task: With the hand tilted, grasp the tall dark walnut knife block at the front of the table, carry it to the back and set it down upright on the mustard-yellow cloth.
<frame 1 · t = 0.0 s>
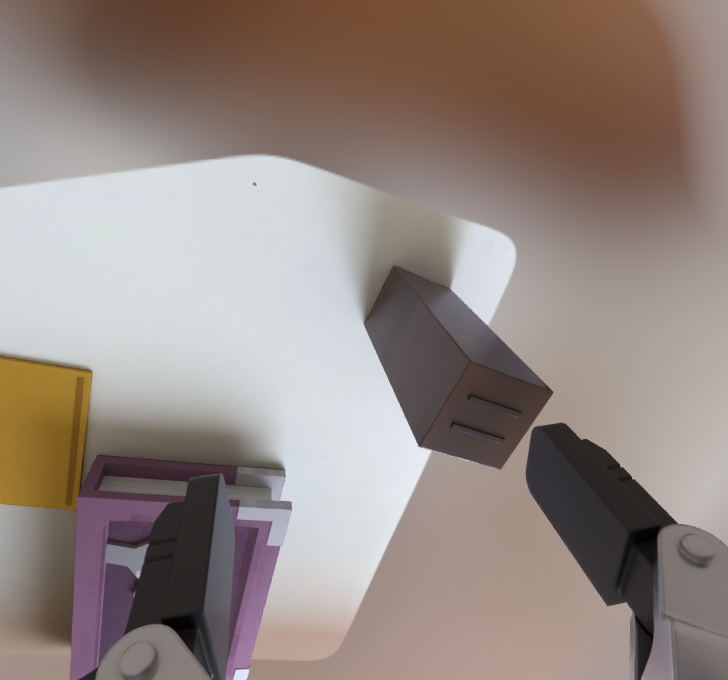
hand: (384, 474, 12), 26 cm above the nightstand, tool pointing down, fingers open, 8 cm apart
knife block: (407, 307, 40), on the nightstand
book: (182, 562, 48), on the nightstand
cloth: (0, 433, 38), on the nightstand
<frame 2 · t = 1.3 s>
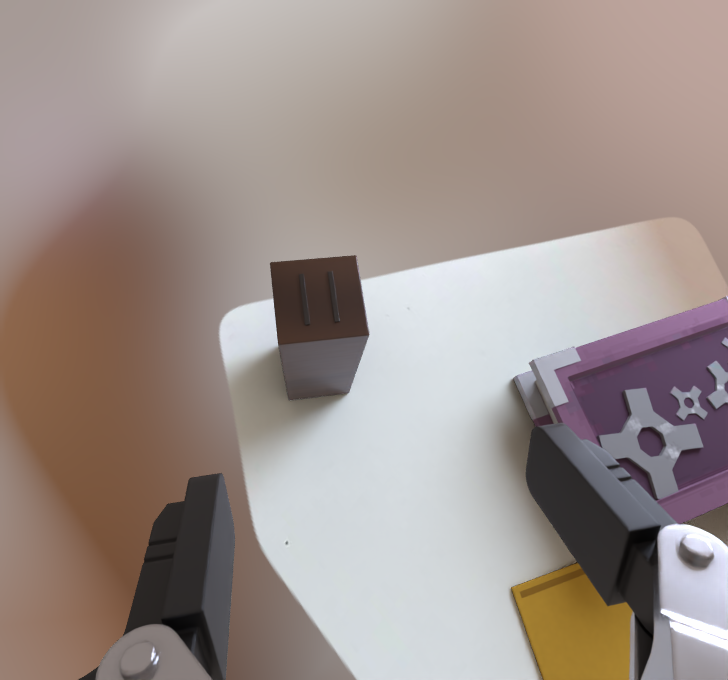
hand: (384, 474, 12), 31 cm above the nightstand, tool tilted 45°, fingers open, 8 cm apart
knife block: (315, 367, 45), on the nightstand
book: (657, 413, 47), on the nightstand
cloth: (613, 635, 40), on the nightstand
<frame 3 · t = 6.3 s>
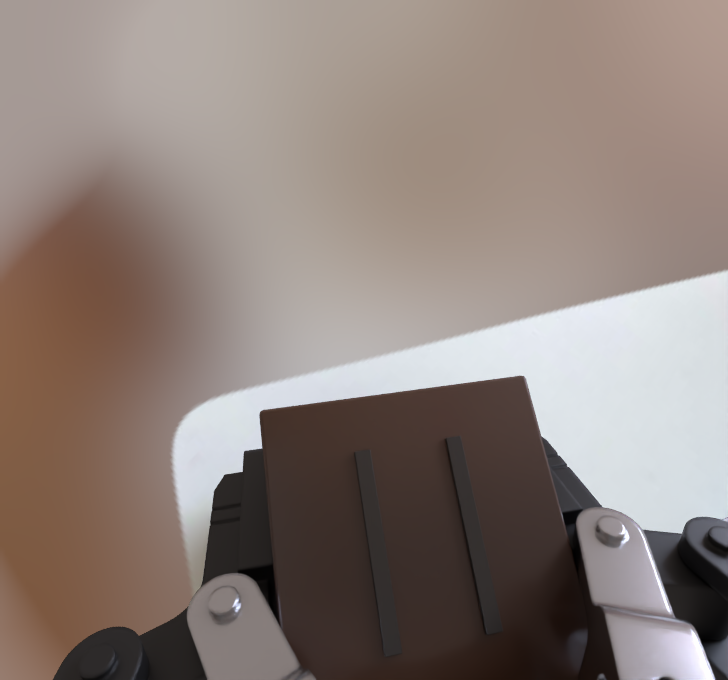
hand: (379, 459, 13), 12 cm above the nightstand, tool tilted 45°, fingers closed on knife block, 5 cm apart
knife block: (352, 518, 24), on the nightstand, touching gripper
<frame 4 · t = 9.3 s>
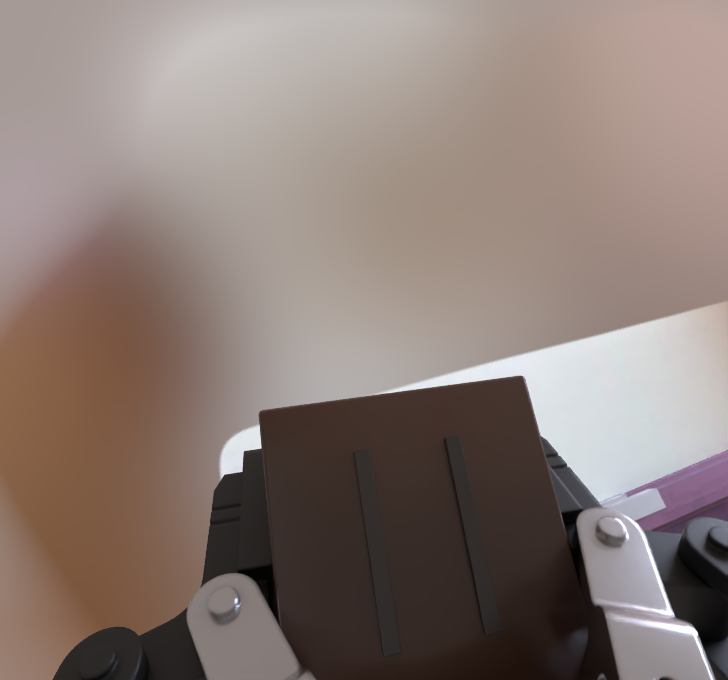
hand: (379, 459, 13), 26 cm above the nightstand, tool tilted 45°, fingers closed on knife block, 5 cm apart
knife block: (352, 518, 24), point 14 cm above the nightstand, touching gripper
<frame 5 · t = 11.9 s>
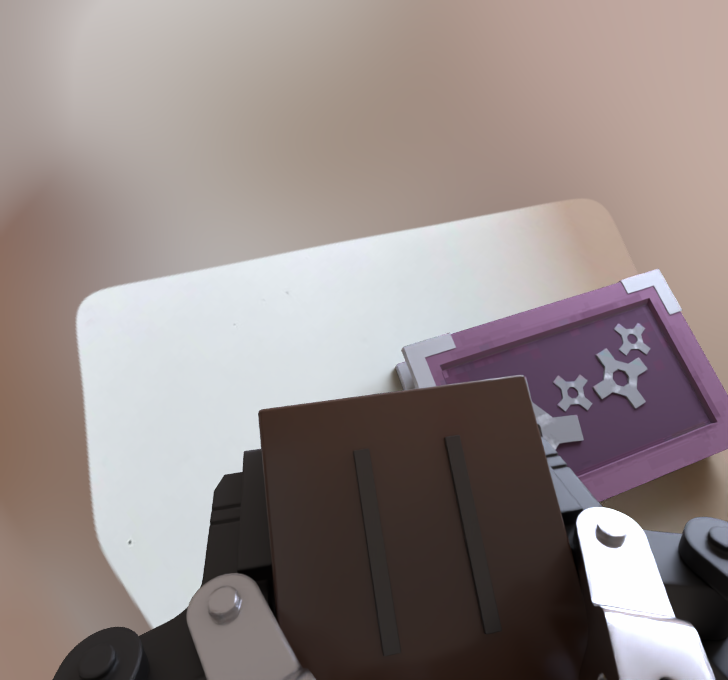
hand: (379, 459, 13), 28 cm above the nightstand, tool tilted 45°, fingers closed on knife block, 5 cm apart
knife block: (353, 518, 24), point 16 cm above the nightstand, touching gripper
book: (550, 404, 44), on the nightstand
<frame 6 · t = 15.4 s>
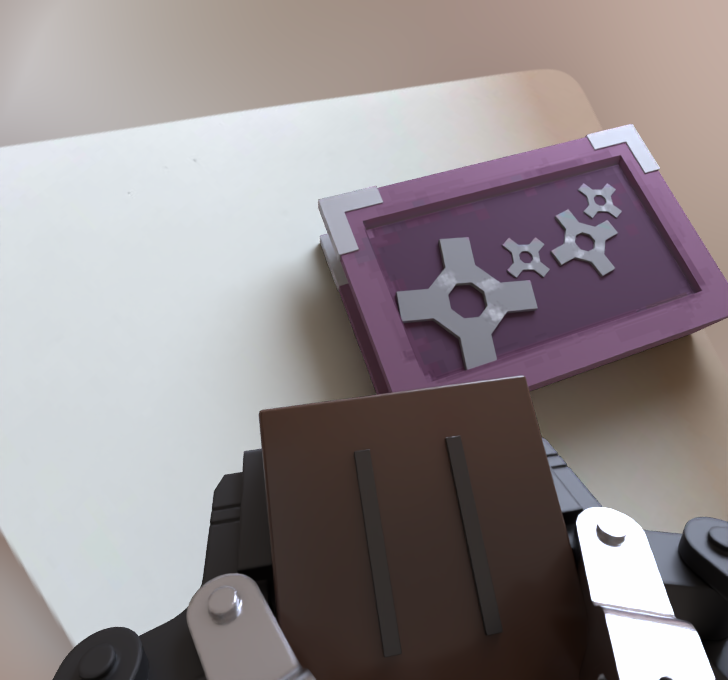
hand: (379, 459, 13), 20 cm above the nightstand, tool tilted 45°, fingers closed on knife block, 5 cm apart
knife block: (353, 518, 24), point 7 cm above the nightstand, touching gripper
book: (505, 287, 37), on the nightstand
when the fingers open (13 cm above the nightstand, at t = 17.8 s): knife block stays where it is, resting on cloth.
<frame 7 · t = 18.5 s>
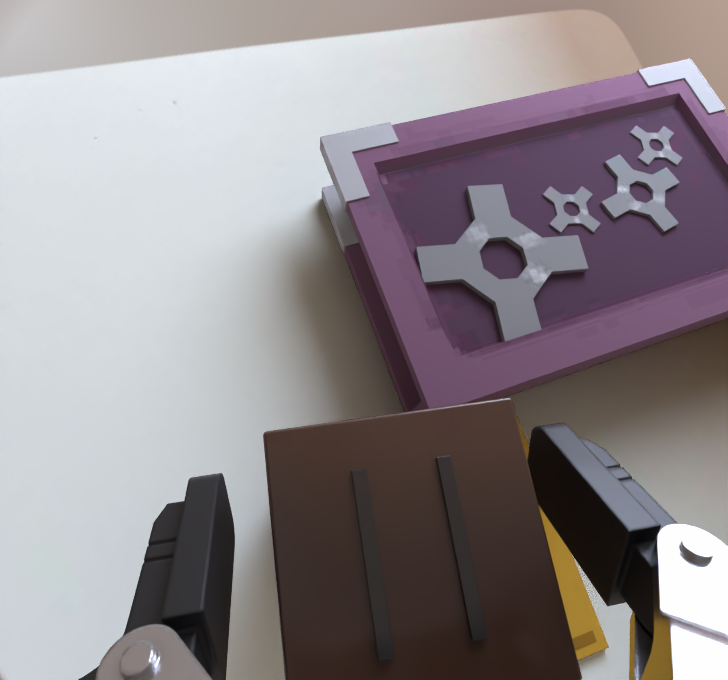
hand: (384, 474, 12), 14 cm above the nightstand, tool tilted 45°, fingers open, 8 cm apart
knife block: (352, 521, 25), resting on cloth
book: (541, 251, 32), on the nightstand
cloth: (436, 566, 25), on the nightstand
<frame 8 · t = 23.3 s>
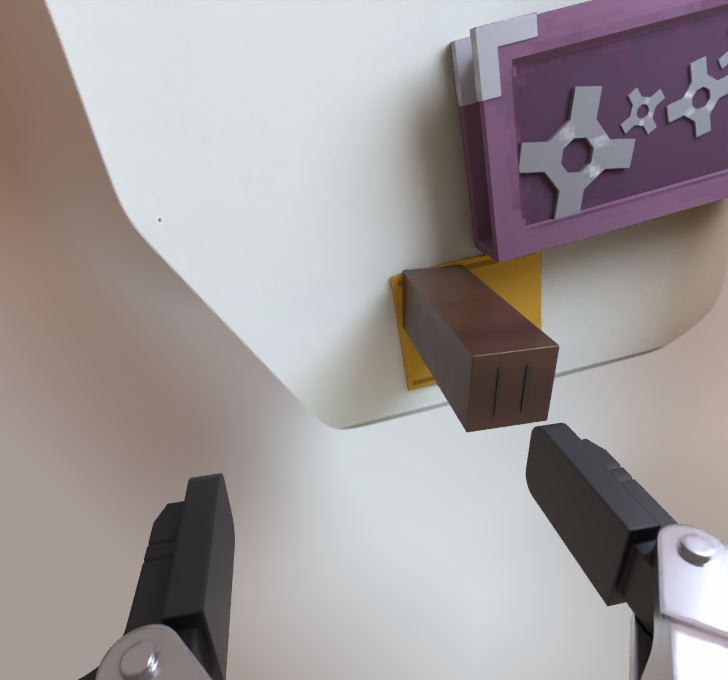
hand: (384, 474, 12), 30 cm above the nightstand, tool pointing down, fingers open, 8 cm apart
knife block: (431, 296, 44), resting on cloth
book: (607, 112, 40), on the nightstand
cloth: (470, 318, 46), on the nightstand
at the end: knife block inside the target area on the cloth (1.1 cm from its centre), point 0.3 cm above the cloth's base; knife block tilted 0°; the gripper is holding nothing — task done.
